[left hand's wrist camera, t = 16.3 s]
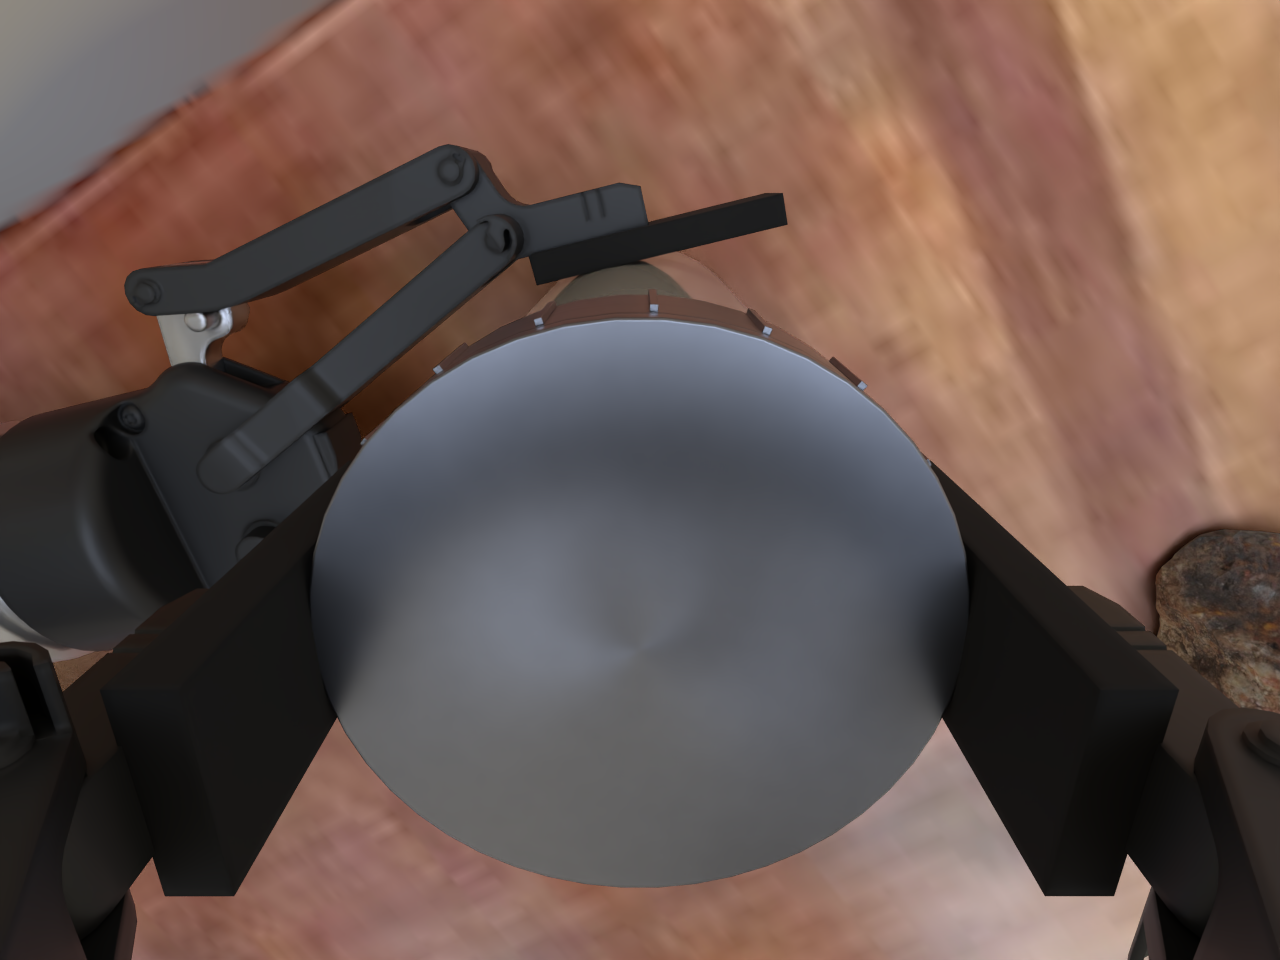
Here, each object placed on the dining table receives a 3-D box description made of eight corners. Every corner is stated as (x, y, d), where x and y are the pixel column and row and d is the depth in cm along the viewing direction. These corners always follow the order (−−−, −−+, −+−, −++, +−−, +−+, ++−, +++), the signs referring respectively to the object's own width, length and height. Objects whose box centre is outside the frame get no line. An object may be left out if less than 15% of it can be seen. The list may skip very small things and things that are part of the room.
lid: (381, 232, 10) (319, 241, 8) (1003, 358, 11) (1083, 395, 9) (346, 748, 13) (295, 844, 11) (827, 823, 14) (858, 926, 12)
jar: (759, 248, 26) (982, 351, 9) (740, 466, 29) (881, 849, 12) (527, 240, 26) (317, 328, 9) (531, 459, 29) (378, 836, 12)
